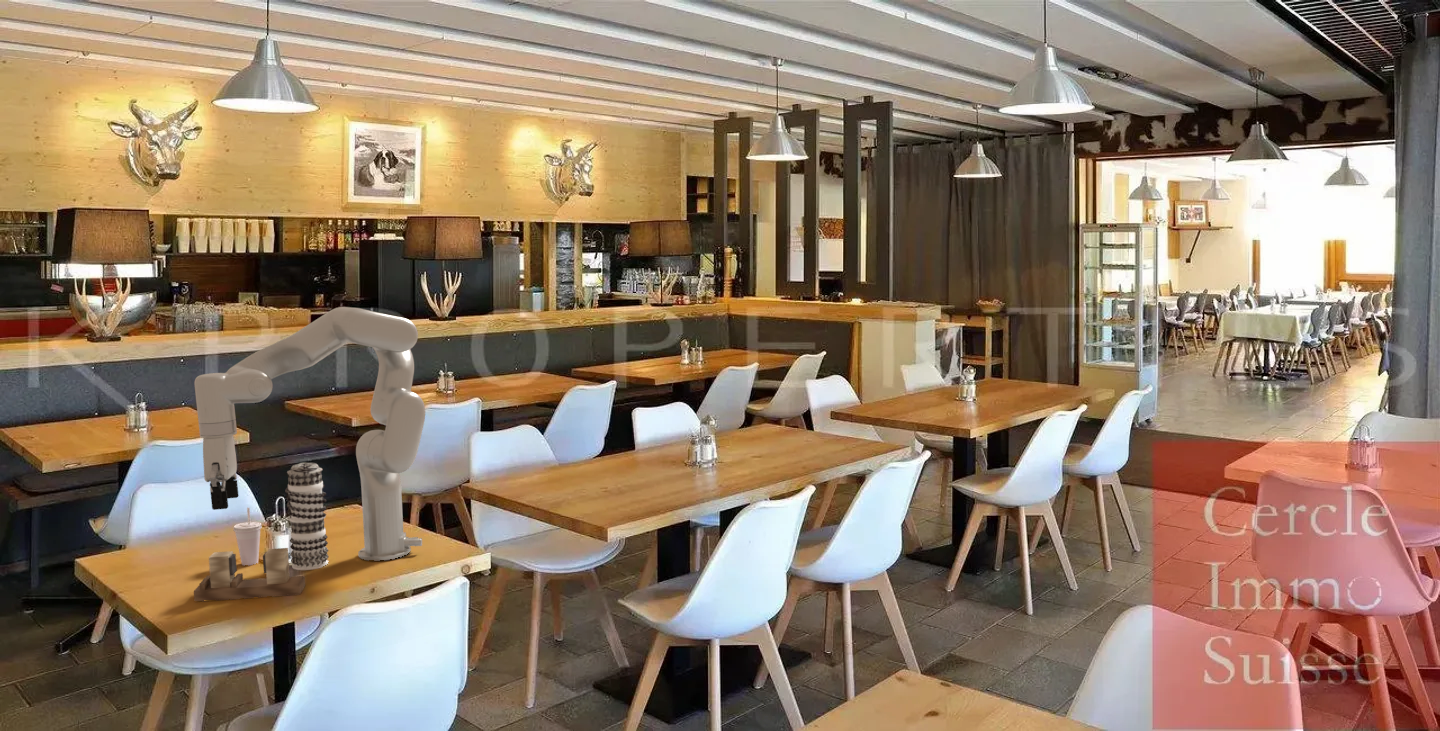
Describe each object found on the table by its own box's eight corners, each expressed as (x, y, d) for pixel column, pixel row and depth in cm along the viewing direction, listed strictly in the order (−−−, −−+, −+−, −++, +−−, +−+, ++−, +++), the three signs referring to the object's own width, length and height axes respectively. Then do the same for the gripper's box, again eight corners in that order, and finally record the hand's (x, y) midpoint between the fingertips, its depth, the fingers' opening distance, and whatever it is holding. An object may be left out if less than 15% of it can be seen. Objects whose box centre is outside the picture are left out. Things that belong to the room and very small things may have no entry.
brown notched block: (305, 586, 243) (302, 545, 242) (299, 594, 238) (297, 553, 236) (202, 593, 239) (199, 552, 238) (194, 602, 233) (191, 560, 232)
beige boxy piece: (210, 588, 235) (208, 557, 234) (216, 582, 239) (214, 552, 238) (233, 586, 236) (230, 556, 235) (237, 581, 240) (235, 551, 239)
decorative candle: (289, 562, 262) (282, 462, 259) (328, 557, 266) (323, 459, 263) (290, 572, 254) (284, 470, 251) (331, 567, 257) (325, 466, 254)
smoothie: (253, 567, 258) (249, 511, 256) (230, 566, 259) (226, 510, 258) (269, 560, 264) (265, 505, 263) (246, 558, 266) (242, 504, 264)
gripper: (210, 423, 244) (217, 495, 247) (189, 437, 228) (197, 514, 230) (244, 420, 246) (252, 492, 248) (226, 434, 229) (234, 511, 231)
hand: (225, 503), depth 239 cm, fingers open, 9 cm apart
